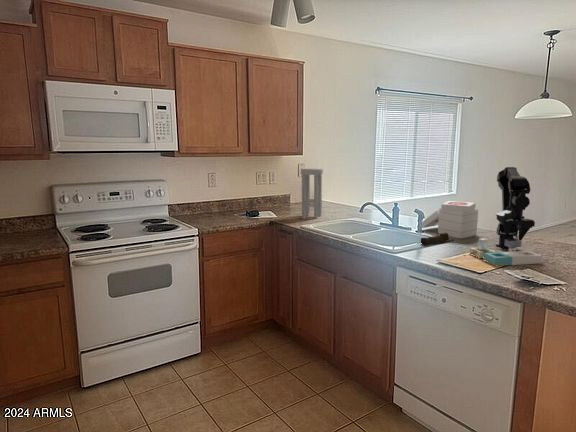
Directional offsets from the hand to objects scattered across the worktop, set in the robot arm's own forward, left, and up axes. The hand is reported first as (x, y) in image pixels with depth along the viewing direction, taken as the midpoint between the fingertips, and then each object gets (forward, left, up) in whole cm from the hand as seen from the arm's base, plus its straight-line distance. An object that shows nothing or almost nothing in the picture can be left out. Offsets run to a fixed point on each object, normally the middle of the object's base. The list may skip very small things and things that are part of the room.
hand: (513, 237), depth 189 cm
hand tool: (-28, -24, -8) cm, 38 cm away
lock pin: (0, -15, -8) cm, 17 cm away
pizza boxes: (-48, -5, -8) cm, 49 cm away
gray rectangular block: (0, 0, -8) cm, 8 cm away
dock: (+11, -7, -8) cm, 15 cm away
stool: (-115, -74, -8) cm, 137 cm away
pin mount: (0, -15, -8) cm, 17 cm away
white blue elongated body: (-28, +20, -9) cm, 35 cm away
